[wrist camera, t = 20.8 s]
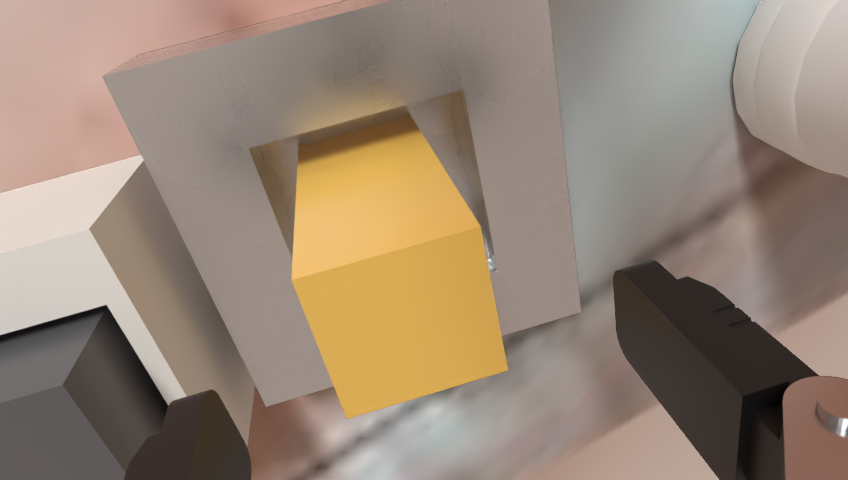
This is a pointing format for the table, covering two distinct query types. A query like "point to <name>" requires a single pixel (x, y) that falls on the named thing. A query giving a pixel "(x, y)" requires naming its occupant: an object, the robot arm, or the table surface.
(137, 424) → the block
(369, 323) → the yellow flat-faced block
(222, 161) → the plate
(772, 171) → the table surface
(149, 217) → the breaker housing
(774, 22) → the bottle
